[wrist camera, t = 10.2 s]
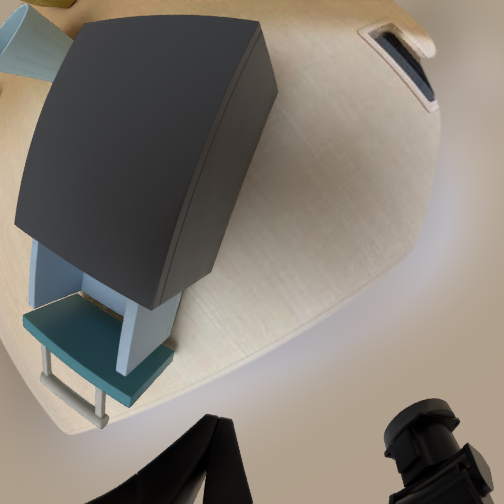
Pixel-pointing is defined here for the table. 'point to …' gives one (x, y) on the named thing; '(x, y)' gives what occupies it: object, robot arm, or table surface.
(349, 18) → the table surface
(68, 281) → the teal drawer
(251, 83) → the drawer cabinet
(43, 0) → the flower pot
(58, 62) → the cup
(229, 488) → the robot arm
